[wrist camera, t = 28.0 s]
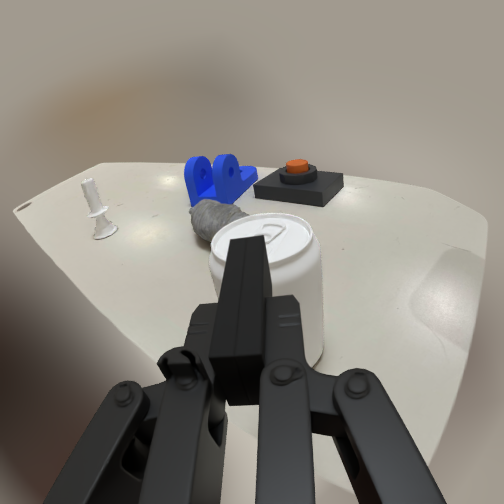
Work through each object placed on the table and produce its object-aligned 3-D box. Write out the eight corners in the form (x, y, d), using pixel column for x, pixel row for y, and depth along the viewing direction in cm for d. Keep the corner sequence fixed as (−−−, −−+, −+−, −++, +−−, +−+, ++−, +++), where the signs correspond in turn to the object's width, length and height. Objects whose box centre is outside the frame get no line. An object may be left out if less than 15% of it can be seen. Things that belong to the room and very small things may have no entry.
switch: (312, 168, 57) (311, 159, 56) (302, 175, 55) (301, 166, 54) (293, 167, 60) (292, 158, 59) (283, 174, 57) (281, 165, 56)
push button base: (343, 186, 59) (342, 164, 56) (323, 207, 52) (321, 181, 50) (281, 179, 66) (279, 159, 64) (255, 197, 60) (251, 175, 58)
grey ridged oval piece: (208, 203, 54) (201, 168, 47) (265, 250, 48) (264, 215, 41) (179, 224, 51) (167, 190, 45) (233, 276, 46) (227, 244, 39)
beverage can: (219, 366, 28) (180, 257, 21) (262, 311, 33) (242, 206, 27) (301, 396, 24) (289, 280, 17) (336, 329, 29) (334, 215, 23)
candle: (115, 235, 57) (94, 177, 50) (91, 242, 56) (69, 185, 50) (119, 223, 61) (101, 169, 55) (97, 230, 61) (78, 177, 55)
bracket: (228, 207, 58) (219, 160, 54) (191, 206, 62) (180, 163, 57) (263, 173, 72) (257, 136, 67) (231, 174, 75) (224, 139, 71)
